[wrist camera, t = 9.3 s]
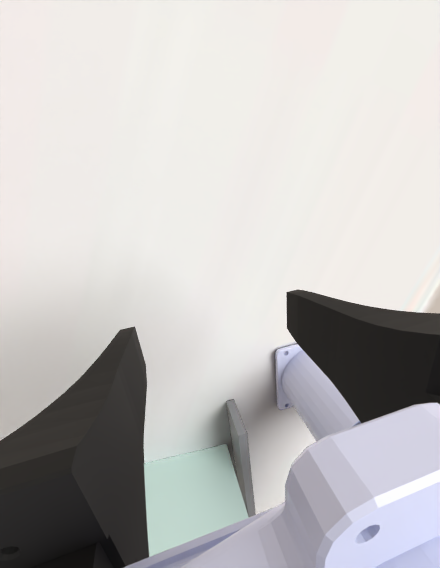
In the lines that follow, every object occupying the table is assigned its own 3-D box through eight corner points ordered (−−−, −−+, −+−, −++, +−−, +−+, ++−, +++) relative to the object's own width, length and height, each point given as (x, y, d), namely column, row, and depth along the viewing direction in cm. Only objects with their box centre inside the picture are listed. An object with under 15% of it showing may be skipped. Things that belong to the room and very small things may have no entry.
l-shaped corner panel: (126, 538, 31) (120, 640, 24) (111, 470, 26) (99, 570, 19) (224, 509, 33) (243, 592, 27) (226, 443, 29) (250, 522, 22)
